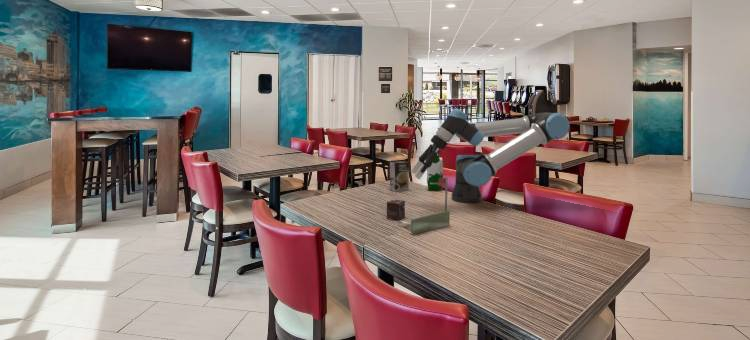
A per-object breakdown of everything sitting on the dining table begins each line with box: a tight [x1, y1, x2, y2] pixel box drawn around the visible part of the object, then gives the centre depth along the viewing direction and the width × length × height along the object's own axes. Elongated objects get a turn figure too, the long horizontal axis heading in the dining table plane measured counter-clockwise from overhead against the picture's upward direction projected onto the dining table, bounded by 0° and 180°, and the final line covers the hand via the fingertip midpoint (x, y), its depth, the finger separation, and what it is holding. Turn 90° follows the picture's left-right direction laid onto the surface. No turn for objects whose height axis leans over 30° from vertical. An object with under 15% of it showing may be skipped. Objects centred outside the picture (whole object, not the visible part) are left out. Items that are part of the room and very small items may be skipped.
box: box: [386, 199, 406, 221], centre depth 190 cm, size 6×6×7 cm
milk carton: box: [426, 154, 444, 192], centre depth 245 cm, size 9×9×20 cm
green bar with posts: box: [398, 176, 451, 235], centre depth 176 cm, size 13×20×20 cm, turn 128°
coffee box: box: [389, 160, 410, 193], centre depth 244 cm, size 9×6×16 cm
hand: (414, 175), depth 206 cm, fingers open, 13 cm apart
